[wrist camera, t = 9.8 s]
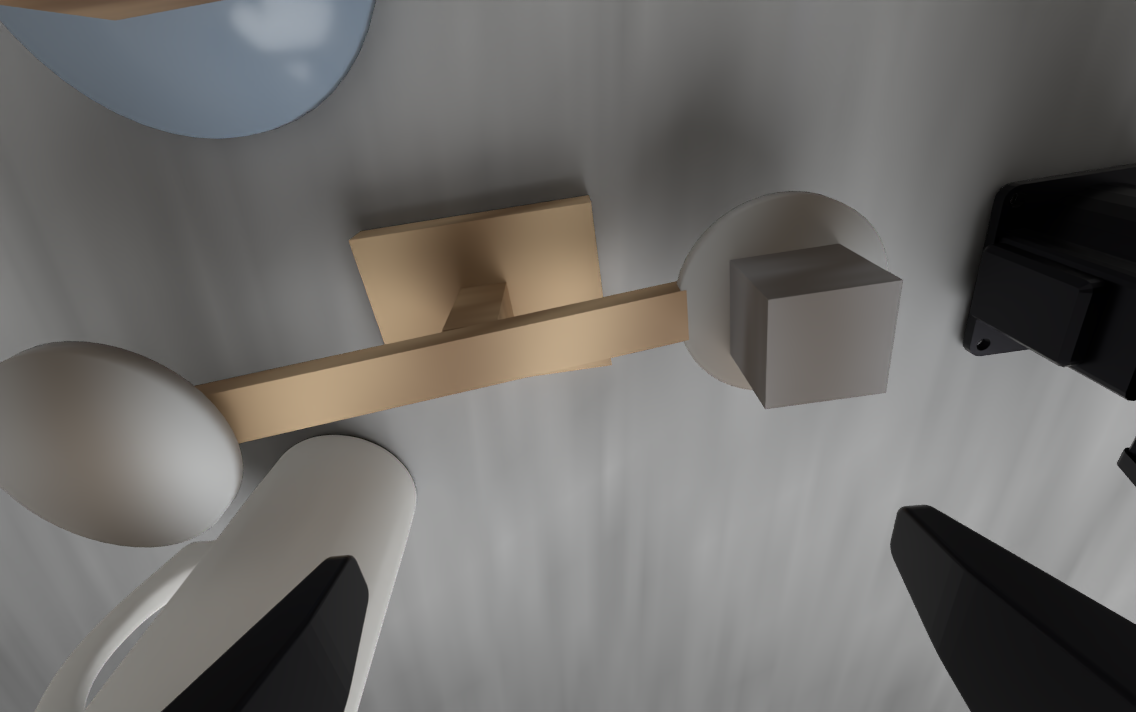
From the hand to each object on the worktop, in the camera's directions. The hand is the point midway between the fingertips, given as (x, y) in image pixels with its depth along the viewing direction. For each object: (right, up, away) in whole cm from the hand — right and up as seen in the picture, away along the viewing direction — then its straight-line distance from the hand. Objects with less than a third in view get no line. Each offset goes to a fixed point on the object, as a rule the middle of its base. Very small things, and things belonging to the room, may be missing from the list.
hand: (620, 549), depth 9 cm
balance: (-4, +5, +11) cm, 13 cm away
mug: (-12, -3, +15) cm, 20 cm away
